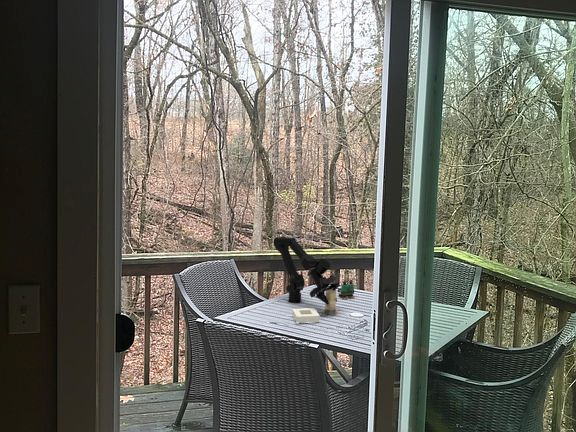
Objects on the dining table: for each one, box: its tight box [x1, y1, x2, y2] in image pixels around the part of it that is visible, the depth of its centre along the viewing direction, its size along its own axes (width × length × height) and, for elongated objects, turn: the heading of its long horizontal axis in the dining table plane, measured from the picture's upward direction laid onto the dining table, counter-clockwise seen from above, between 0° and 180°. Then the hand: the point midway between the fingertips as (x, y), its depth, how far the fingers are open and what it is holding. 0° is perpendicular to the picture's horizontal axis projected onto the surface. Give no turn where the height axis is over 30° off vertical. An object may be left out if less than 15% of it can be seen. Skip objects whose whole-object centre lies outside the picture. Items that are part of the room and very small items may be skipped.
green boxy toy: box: [337, 279, 355, 300], centre depth 361 cm, size 9×11×10 cm
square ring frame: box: [291, 307, 320, 323], centre depth 324 cm, size 12×12×4 cm
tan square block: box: [324, 290, 337, 317], centre depth 332 cm, size 4×4×13 cm
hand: (332, 303), depth 331 cm, fingers open, 6 cm apart
